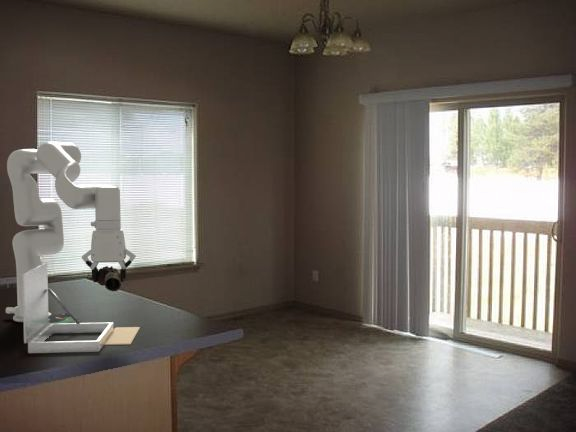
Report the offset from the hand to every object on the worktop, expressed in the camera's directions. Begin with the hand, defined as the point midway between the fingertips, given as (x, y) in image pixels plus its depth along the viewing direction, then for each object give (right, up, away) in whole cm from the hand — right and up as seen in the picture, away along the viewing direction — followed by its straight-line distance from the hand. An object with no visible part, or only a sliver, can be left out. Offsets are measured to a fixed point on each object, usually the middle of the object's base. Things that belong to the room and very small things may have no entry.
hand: (109, 281), depth 196 cm
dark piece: (0, -2, -1) cm, 2 cm away
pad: (+3, -18, +3) cm, 19 cm away
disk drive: (-22, -18, +18) cm, 34 cm away
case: (-10, -18, -3) cm, 21 cm away
